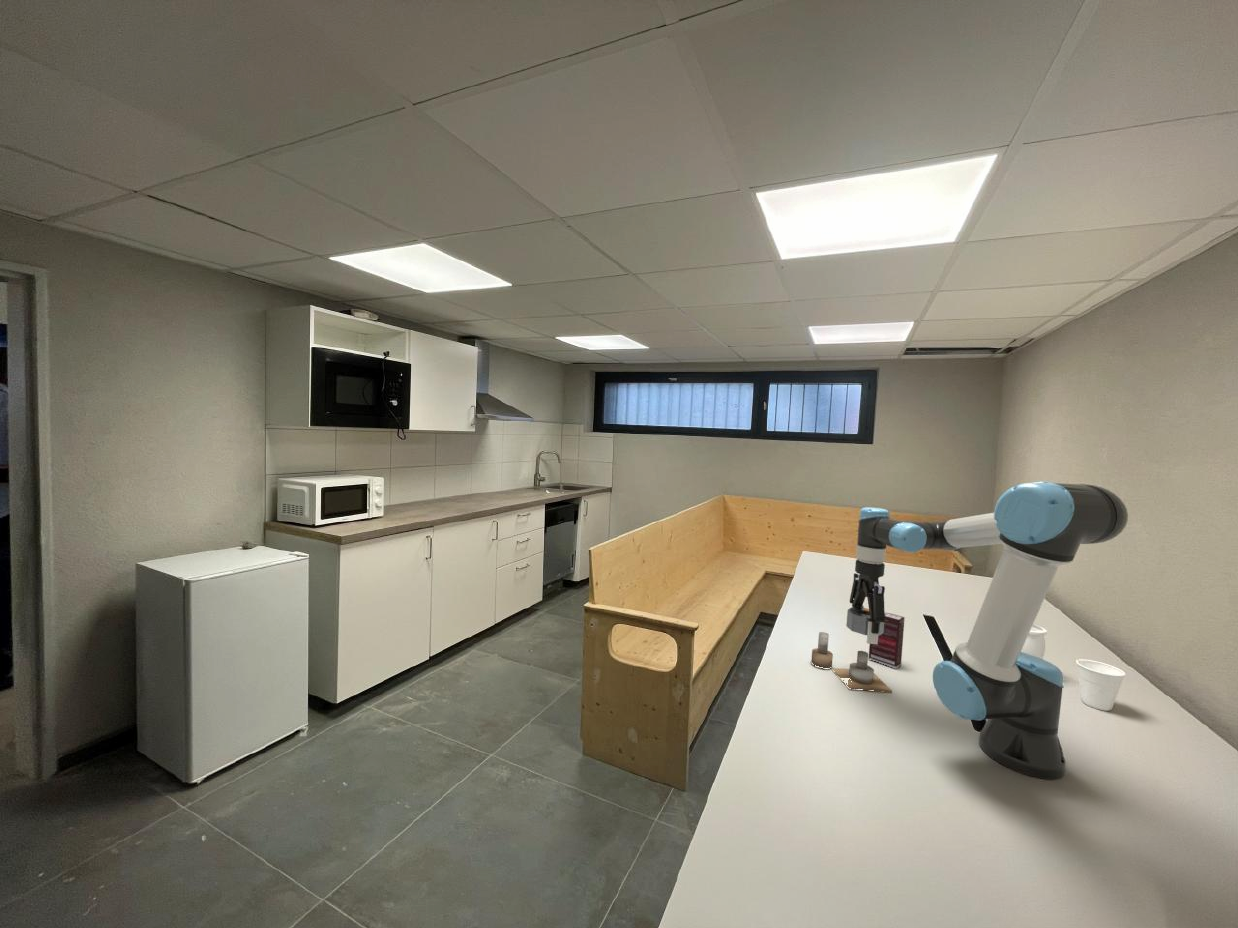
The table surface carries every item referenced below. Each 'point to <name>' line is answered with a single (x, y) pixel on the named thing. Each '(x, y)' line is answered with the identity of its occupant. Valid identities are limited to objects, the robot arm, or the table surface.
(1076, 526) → the robot arm
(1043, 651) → the jar
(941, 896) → the table surface
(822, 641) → the stand
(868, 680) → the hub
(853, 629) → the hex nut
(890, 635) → the supplement box
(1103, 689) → the cup
